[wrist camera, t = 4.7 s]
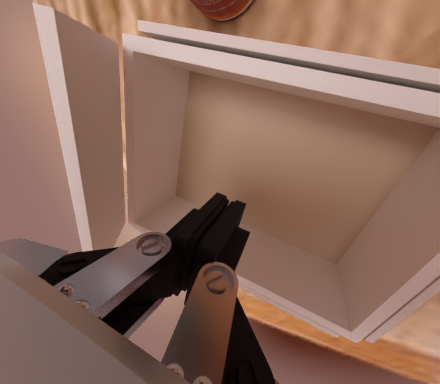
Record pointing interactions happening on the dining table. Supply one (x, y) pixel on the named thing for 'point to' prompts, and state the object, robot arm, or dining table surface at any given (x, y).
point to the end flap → (86, 122)
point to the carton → (293, 168)
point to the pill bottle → (221, 8)
